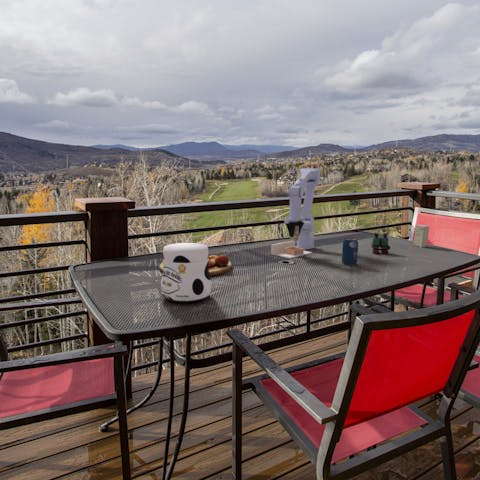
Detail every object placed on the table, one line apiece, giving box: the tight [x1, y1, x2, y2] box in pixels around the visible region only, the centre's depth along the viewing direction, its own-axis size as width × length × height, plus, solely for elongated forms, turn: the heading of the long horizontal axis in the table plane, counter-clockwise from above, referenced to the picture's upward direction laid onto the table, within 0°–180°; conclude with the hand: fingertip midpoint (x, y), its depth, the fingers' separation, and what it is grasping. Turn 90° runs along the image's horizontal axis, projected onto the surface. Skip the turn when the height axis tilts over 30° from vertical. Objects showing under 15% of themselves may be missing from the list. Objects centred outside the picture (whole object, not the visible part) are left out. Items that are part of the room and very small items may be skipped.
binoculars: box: [371, 232, 391, 256], centre depth 212 cm, size 9×11×10 cm
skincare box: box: [413, 224, 430, 248], centre depth 231 cm, size 6×4×12 cm
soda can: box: [341, 237, 359, 266], centre depth 189 cm, size 7×7×12 cm
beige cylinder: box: [289, 226, 299, 242], centre depth 207 cm, size 4×4×7 cm
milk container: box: [160, 242, 212, 303], centre depth 139 cm, size 17×17×18 cm
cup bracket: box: [270, 240, 313, 259], centre depth 209 cm, size 18×12×5 cm
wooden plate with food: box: [158, 254, 233, 277], centre depth 180 cm, size 32×32×8 cm
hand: (294, 236), depth 207 cm, fingers closed on beige cylinder, 4 cm apart
